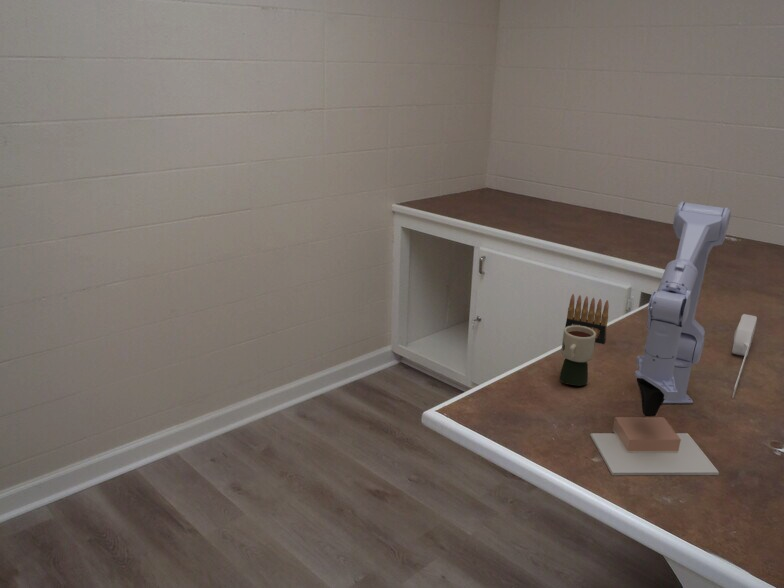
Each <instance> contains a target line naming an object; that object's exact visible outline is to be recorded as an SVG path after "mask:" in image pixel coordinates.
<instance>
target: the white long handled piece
mask: <svg viewBox="0 0 784 588" xmlns="http://www.w3.org/2000/svg"><path fill="white" fill-rule="evenodd" d="M757 319H758V318H757V316H755V315H751V314H746V313H743V314H741V317H740V321H739V323H738V325H737V327H736V329H735V331H734V334H733V344H732V349H731V350H732V351H731V354H733V355H738V356H742V357H743V360H742V363H741V366H740V369H739V372H738V376H737V378H736V382H735V384H734V387H733V393H732V397H731V400H733V399H734V397H735V395H736V391H737V388H738V385H739V381H740V378H741V375H742V371H743V369H744V365H745V362H746V359H747V357H748V355H749V351H750V348H751V345H752V342H753V338H754V334H755V330H756V326H757V322H758V320H757Z"/></svg>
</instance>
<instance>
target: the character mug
mask: <svg viewBox="0 0 784 588" xmlns="http://www.w3.org/2000/svg"><path fill="white" fill-rule="evenodd" d="M595 337H596V332H595V331H594V330H592V329H591V328H588V327H585V326H580V325H579V326H577V325H572V326H567V327H564V329H563V334H562V344H561V349H560V353H561V355H562V356H563V357H564V358H565V359H564V360H563V362H562V363H563V364H562V366H561V370H560V374H559V380H560V382H562V383H563V384H566V385H571V386H580V387H581V386H584V385H587V383H588V379H589V378H588V377H589V376H588V375H589V373H588V371H589V370H588V368H589V367H588V365H589V363H588V362H590V361H592V360H593V356H594V350H595V343H596V342H595Z"/></svg>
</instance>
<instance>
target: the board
mask: <svg viewBox="0 0 784 588" xmlns="http://www.w3.org/2000/svg"><path fill="white" fill-rule="evenodd" d="M675 433H676V432H675ZM676 434H677V435H678V436H679V438H680V439H681V441H680V446H679V451H678V453H627V452H626V450H625V449H624V447H623V445H622V444H621V442H620V440H619V439H618V437H617V436H616V434H615V432H613V433H608V432H604V433H601V432H600V433H599V432H597V433H596V432H595V433H594V432H593V433H590V434H589V435H590V438H591V440H592V442H593V443H594V445H595V447H596V449H597V450H598V452H599V454H600V456H601V458H602V460H603V461H604V463H605V466H606V467H607V468H608V470H609V472H610V474H611V476H719V475H720V472H719V470H718V469H717V468H716V467H715V465H714V464H713V463H712V462H711V460H710V459H709V458H708V456H707V455H706V454H705V453H704V452H703V450H702V449H701V447H699V445H698V444H697V443H696V441H694V439H693V438H692V437H691V436H690V434H689V433H687V432H685V433H684V432H682V433H680V432H679V433H678V432H677V433H676Z"/></svg>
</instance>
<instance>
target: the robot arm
mask: <svg viewBox="0 0 784 588" xmlns="http://www.w3.org/2000/svg"><path fill="white" fill-rule="evenodd" d="M731 212H732V211H731V210H730V208H729V207H721V206H720V207H719V206H714V205H713V206H712V205H706V204H705V205H704V204H698V203H691V202H685V201H681V202H679V203H678V205H677V207H676V209H675V212H674V216H673V217H674V218H673V223H672V229H673V231H674V233H675V235H676V238H677V239H678V240H679V243H678V247H677V252H676V256H675V259H674V260H671V261H669V262H668V263H667V264H666V266H665V269H664V271H663V275H662V278H661V280H660V282H659V285H658V288H657V290H656V291H653V292H652V294H651V296H650V297H649V302H648V306H647V323H646V328H647V331H646V332H647V333H646V338H645V339H646V340H645V344H644V345H645V346H644V350H643V355H637V356H636V363H635V365H636V366H637V367H638V370H634V374H633V375H635V377H636V382H637V385H638V388H639V391H640V399H641V411H642V414H643V416H644V417H656V415H657V414H658V412H659V410H660V408H661V406H662V404H693V403H694V401H693V399H692V398H691V397H690V396H689V395H688V394H687V390H688V387H689V381H690V376H691V371H692V365H696V364H699V362H700V359H701V356H702V354H703V349H704V345H705V337H706V336H705V335H706V331H705V328H704V327H703V326H702V325H701V324H700V323H699V322H698V321H697V320H696V319H695V317H696V313H697V308H698V303H699V299H700V295H701V290H702V285H703V282H704V277H705V271H706V267H707V262H708V258H709V255H710V252H711V251H712V249H713V247H717V246H722V245H723V243H724V242H725V239H726V236H727V231H728V228H729V224H730V218H731Z"/></svg>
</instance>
